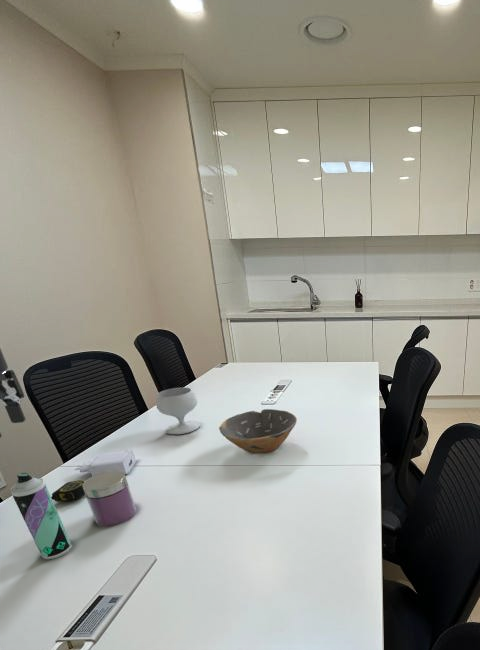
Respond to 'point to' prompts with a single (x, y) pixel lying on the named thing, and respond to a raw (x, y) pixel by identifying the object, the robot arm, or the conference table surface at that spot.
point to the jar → (113, 507)
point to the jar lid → (104, 484)
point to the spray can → (40, 516)
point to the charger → (110, 463)
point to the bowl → (258, 430)
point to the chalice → (177, 408)
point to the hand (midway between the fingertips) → (7, 430)
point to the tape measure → (69, 491)
